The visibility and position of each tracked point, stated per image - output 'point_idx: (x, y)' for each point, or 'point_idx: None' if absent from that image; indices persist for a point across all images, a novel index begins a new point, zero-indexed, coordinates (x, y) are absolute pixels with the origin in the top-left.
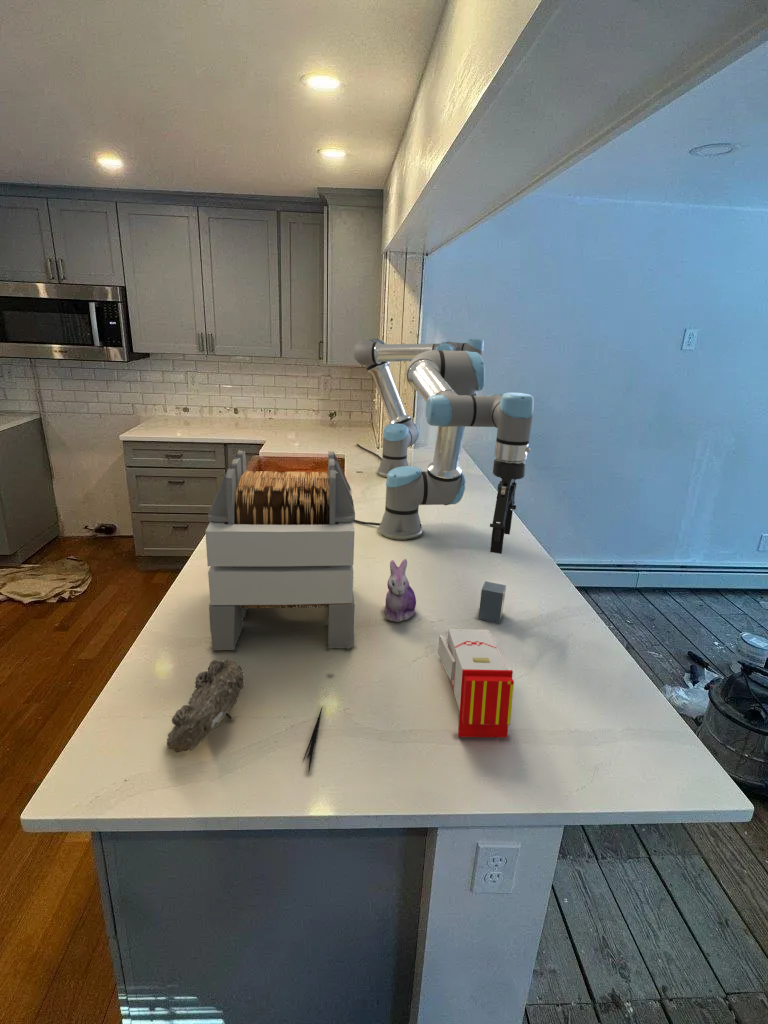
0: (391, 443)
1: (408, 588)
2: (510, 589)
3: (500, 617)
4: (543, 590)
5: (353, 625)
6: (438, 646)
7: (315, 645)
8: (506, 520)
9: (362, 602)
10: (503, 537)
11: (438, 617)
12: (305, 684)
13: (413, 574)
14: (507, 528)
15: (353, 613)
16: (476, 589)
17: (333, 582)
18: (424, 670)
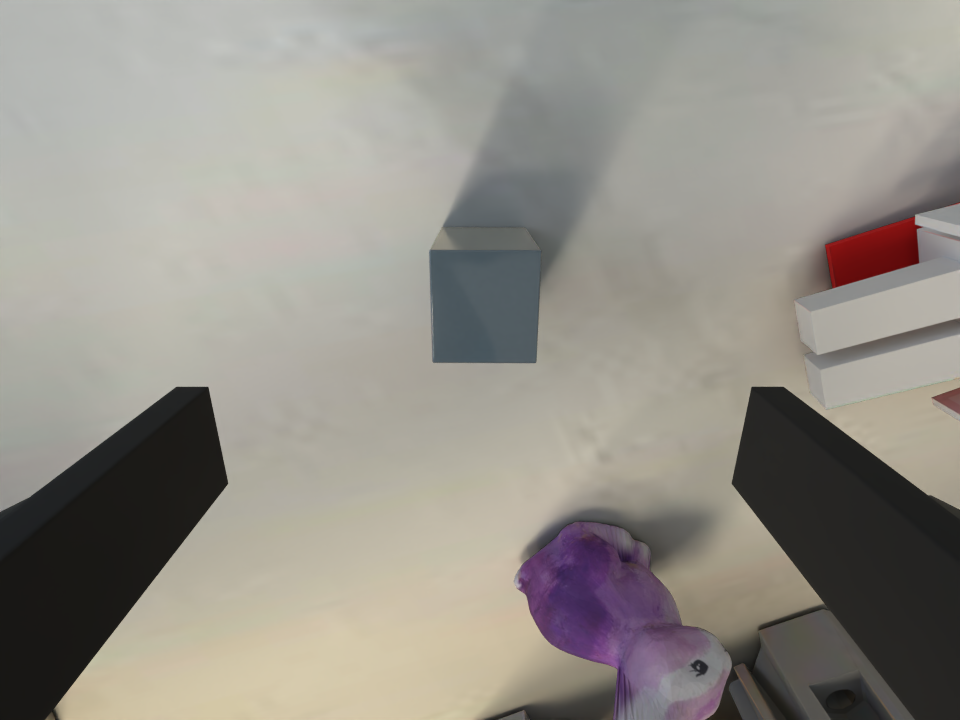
0: None
1: (599, 616)
2: (187, 227)
3: (513, 229)
4: (90, 58)
5: (874, 673)
6: (955, 416)
7: None
8: (120, 533)
9: (560, 659)
10: (909, 492)
11: (566, 446)
12: None
13: (290, 591)
14: (177, 447)
15: (909, 718)
16: (276, 367)
17: None
18: (908, 408)
